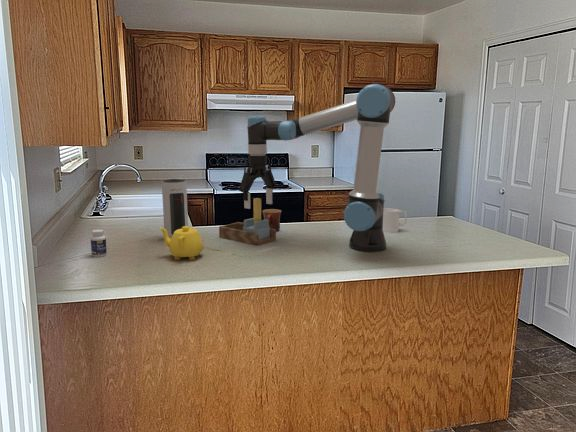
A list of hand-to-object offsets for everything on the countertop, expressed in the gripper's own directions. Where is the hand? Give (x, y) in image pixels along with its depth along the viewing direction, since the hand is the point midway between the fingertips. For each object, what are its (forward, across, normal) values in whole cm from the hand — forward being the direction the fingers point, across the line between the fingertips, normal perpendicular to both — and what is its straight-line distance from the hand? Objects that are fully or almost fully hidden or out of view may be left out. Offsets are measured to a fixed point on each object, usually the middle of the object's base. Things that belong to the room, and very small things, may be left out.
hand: (258, 206), depth 202 cm
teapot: (+16, +33, -10) cm, 38 cm away
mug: (+16, -18, -9) cm, 26 cm away
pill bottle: (+16, +52, -36) cm, 65 cm away
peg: (+9, 0, -1) cm, 9 cm away
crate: (+15, 0, -2) cm, 15 cm away
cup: (+18, -60, +32) cm, 70 cm away
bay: (+16, 0, -7) cm, 17 cm away
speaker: (+16, +17, -34) cm, 41 cm away
